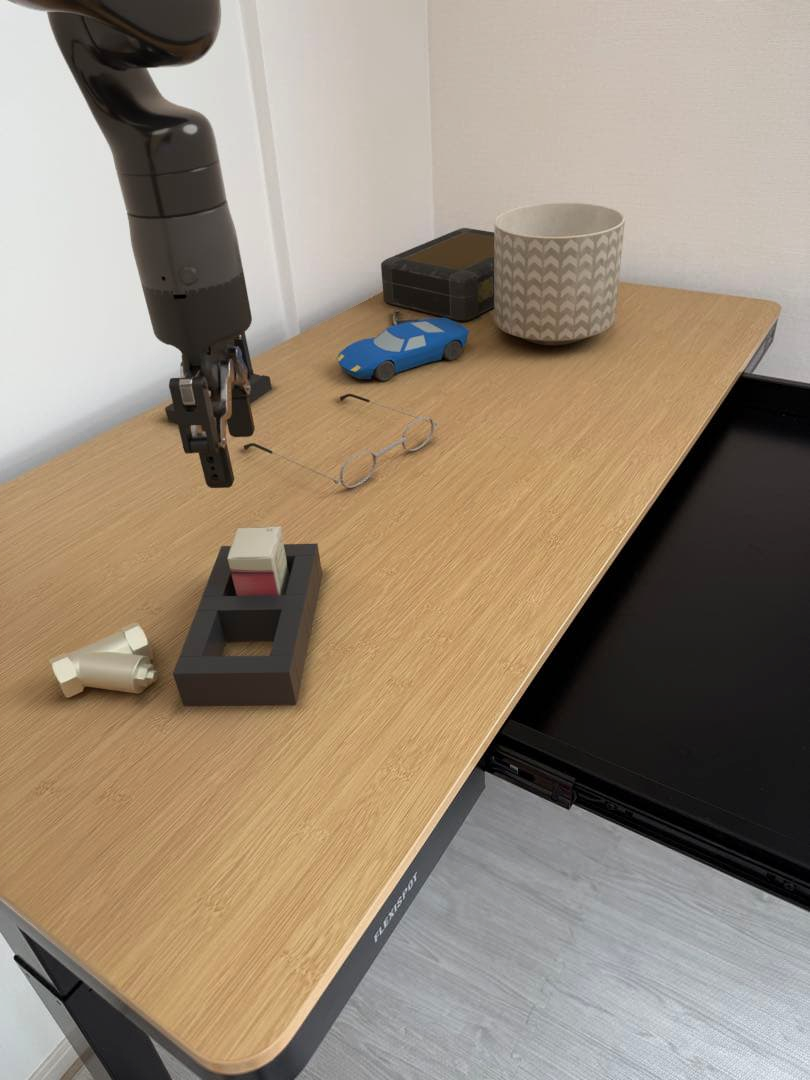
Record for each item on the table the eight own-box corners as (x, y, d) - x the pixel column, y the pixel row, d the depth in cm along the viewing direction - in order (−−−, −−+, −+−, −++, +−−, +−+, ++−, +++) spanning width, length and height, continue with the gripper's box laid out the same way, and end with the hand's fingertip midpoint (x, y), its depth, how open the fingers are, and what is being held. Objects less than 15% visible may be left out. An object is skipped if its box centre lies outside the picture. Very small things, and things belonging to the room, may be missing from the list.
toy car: (330, 369, 123) (326, 338, 120) (441, 336, 131) (440, 307, 128) (358, 390, 116) (355, 358, 113) (473, 354, 124) (473, 324, 121)
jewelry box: (460, 265, 160) (459, 225, 156) (546, 281, 149) (548, 239, 144) (377, 302, 145) (374, 260, 141) (466, 324, 134) (465, 279, 130)
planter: (632, 351, 121) (645, 228, 110) (511, 366, 120) (513, 243, 109) (589, 308, 136) (598, 197, 126) (482, 321, 135) (481, 209, 124)
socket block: (296, 704, 68) (289, 672, 65) (183, 706, 68) (172, 673, 66) (322, 573, 82) (317, 542, 80) (228, 576, 83) (221, 545, 80)
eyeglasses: (341, 498, 93) (336, 469, 91) (243, 453, 104) (237, 426, 102) (441, 437, 103) (439, 409, 101) (342, 403, 115) (338, 377, 112)
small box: (251, 589, 81) (236, 525, 76) (293, 587, 80) (280, 524, 76) (241, 622, 77) (225, 558, 72) (285, 621, 76) (272, 556, 72)
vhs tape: (231, 380, 122) (228, 368, 121) (271, 388, 119) (269, 376, 118) (166, 421, 112) (163, 408, 111) (209, 431, 109) (206, 418, 108)
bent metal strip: (426, 314, 136) (407, 323, 133) (427, 322, 136) (407, 331, 134) (396, 307, 140) (376, 315, 137) (396, 314, 141) (376, 323, 138)
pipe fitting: (170, 688, 71) (143, 643, 75) (161, 659, 68) (133, 614, 72) (81, 731, 67) (58, 681, 72) (67, 702, 65) (45, 652, 69)
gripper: (169, 244, 65) (210, 422, 74) (109, 305, 53) (166, 506, 63) (259, 240, 64) (289, 419, 74) (218, 300, 53) (259, 503, 62)
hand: (232, 459), depth 68 cm, fingers open, 8 cm apart
